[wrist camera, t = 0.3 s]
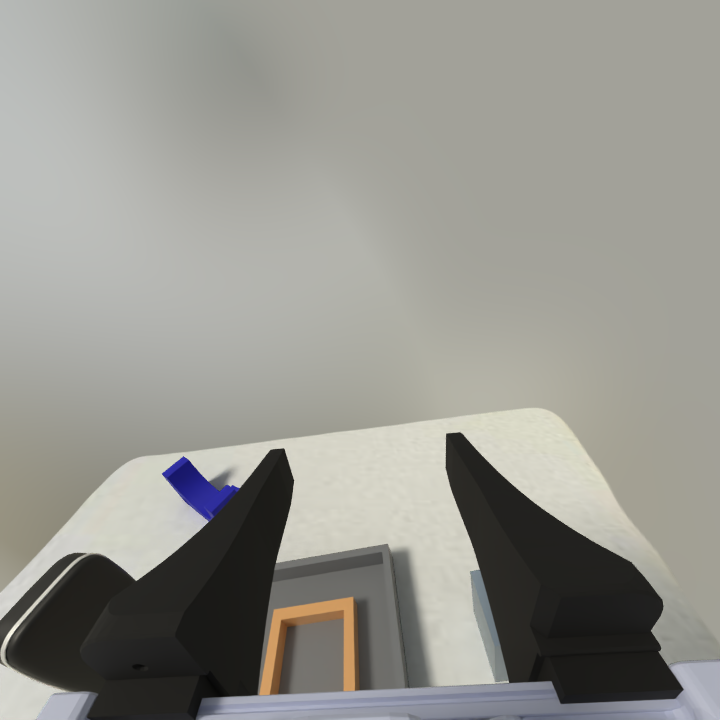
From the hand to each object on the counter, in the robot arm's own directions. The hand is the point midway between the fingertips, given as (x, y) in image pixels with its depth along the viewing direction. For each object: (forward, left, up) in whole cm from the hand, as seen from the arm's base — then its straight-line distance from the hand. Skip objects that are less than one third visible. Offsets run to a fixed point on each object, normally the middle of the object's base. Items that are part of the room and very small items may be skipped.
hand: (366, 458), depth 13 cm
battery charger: (+2, +27, -21) cm, 34 cm away
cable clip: (+16, +23, -21) cm, 35 cm away
